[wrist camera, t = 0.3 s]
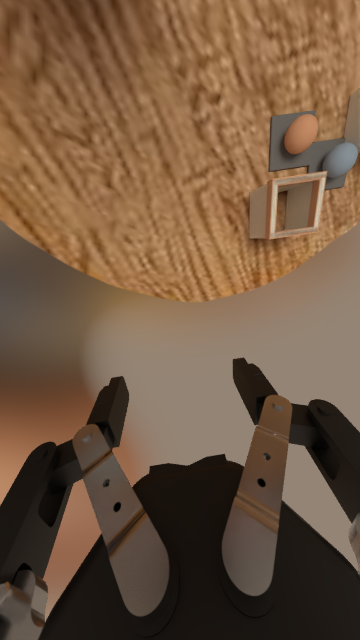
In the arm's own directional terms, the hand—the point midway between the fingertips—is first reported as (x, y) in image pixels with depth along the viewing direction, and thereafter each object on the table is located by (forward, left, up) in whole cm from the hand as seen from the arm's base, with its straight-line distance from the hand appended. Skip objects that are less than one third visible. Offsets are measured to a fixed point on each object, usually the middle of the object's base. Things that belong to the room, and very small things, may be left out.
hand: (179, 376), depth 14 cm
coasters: (-19, +27, -28) cm, 44 cm away
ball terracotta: (-21, +24, -28) cm, 42 cm away
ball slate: (-17, +31, -28) cm, 45 cm away
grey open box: (-11, +21, -28) cm, 37 cm away
